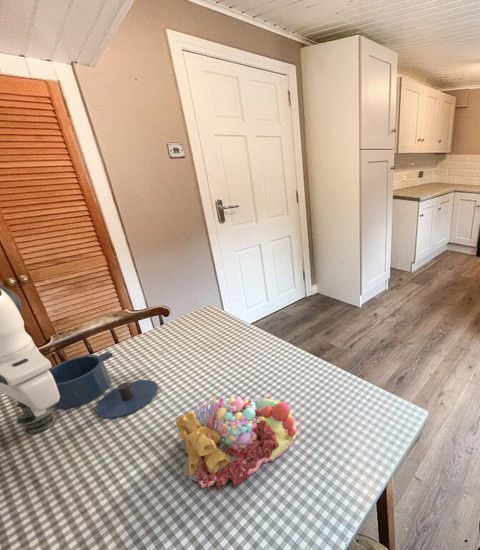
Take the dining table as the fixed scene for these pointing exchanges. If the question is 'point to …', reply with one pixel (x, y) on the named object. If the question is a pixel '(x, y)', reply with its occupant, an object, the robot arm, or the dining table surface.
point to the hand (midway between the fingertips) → (33, 410)
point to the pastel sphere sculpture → (234, 438)
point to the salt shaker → (35, 420)
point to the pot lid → (127, 399)
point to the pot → (81, 380)
